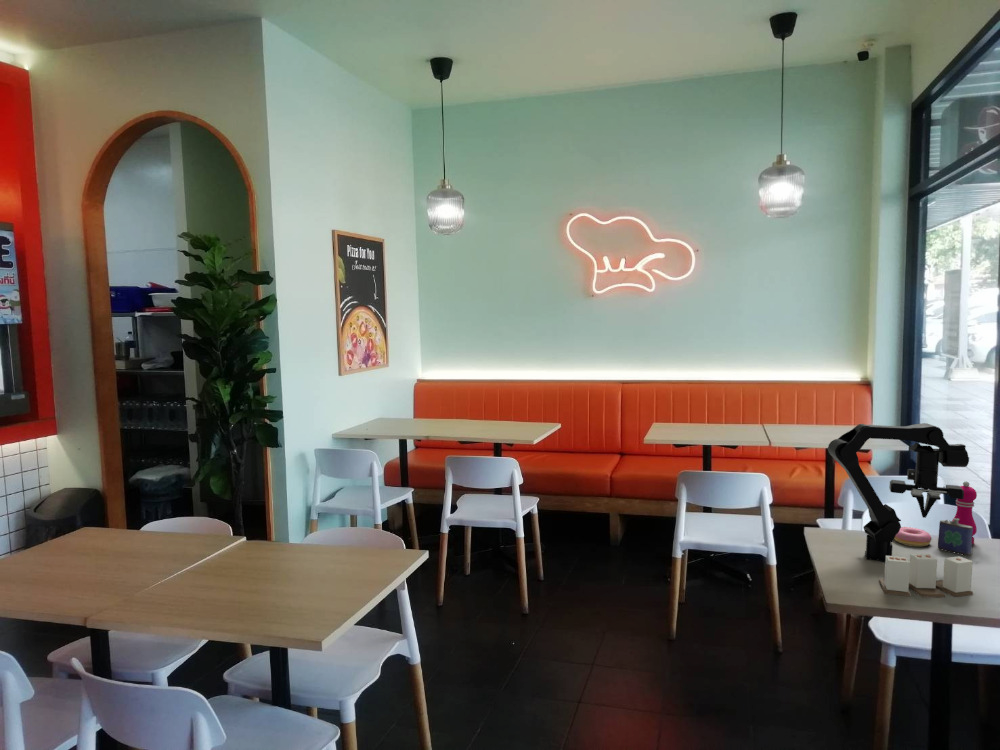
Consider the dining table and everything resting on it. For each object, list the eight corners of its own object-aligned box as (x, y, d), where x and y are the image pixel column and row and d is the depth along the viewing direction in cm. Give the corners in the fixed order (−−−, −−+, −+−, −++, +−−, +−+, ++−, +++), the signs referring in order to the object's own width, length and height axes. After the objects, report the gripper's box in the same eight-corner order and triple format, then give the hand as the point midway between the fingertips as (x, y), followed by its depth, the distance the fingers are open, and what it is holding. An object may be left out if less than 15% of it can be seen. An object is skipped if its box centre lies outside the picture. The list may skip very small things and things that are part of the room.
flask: (972, 554, 219) (974, 520, 218) (968, 556, 217) (970, 522, 216) (939, 546, 226) (941, 513, 225) (935, 548, 224) (937, 515, 223)
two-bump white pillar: (908, 582, 194) (910, 553, 193) (927, 582, 194) (928, 553, 193) (916, 588, 190) (918, 558, 189) (935, 588, 190) (937, 558, 189)
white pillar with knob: (942, 586, 191) (944, 557, 190) (957, 584, 192) (959, 555, 192) (955, 592, 187) (957, 562, 186) (970, 590, 188) (972, 560, 188)
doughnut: (892, 535, 238) (893, 522, 237) (931, 540, 232) (931, 528, 232) (891, 544, 229) (892, 531, 228) (931, 550, 223) (932, 537, 223)
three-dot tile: (884, 584, 193) (885, 554, 192) (904, 586, 191) (906, 556, 190) (886, 589, 189) (888, 559, 188) (908, 592, 188) (909, 561, 187)
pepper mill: (944, 539, 232) (947, 479, 230) (958, 537, 235) (962, 477, 233) (966, 546, 226) (970, 485, 224) (980, 543, 229) (985, 482, 227)
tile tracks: (881, 592, 190) (881, 589, 189) (877, 572, 204) (877, 570, 203) (979, 607, 180) (979, 604, 180) (968, 585, 194) (968, 582, 194)
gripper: (959, 463, 215) (956, 514, 217) (889, 458, 223) (886, 506, 225) (965, 471, 205) (962, 524, 207) (892, 465, 213) (889, 516, 214)
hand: (924, 517), depth 213 cm, fingers closed
